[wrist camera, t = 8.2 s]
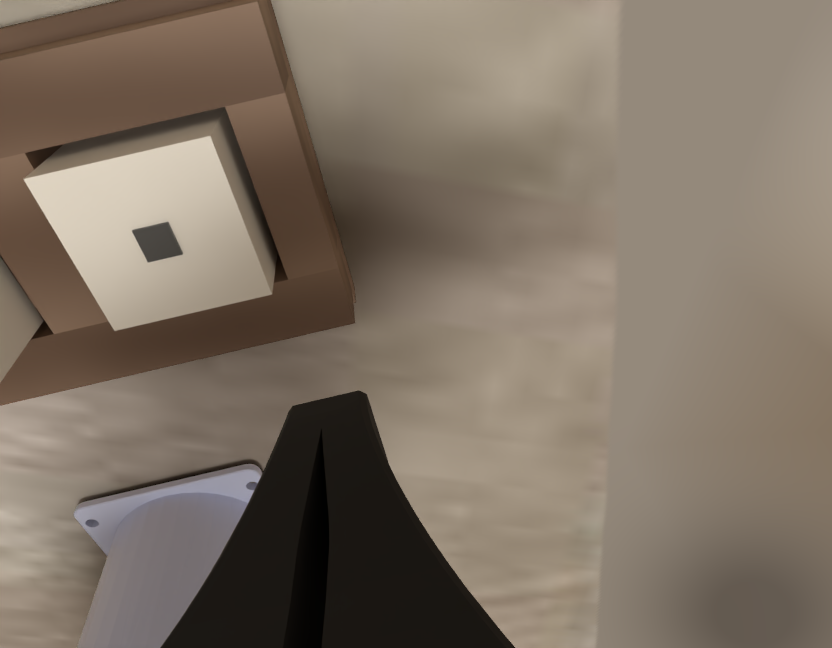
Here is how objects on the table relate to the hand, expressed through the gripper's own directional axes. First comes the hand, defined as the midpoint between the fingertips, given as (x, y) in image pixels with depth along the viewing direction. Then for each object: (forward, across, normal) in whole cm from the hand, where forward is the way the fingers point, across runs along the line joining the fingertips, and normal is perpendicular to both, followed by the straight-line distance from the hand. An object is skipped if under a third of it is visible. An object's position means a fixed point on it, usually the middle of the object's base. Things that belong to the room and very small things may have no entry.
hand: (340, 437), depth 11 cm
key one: (+9, +4, -2) cm, 10 cm away
